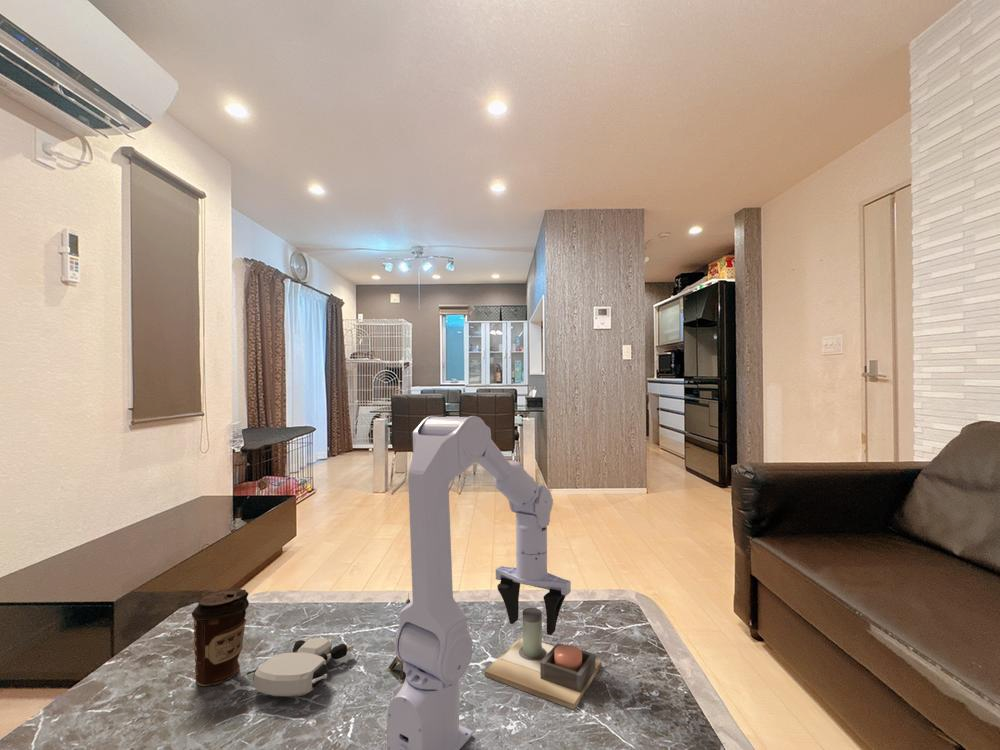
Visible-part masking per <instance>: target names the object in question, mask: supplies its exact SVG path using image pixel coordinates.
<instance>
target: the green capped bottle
mask: <svg viewBox="0 0 1000 750" xmlns="http://www.w3.org/2000/svg"><path fill="white" fill-rule="evenodd" d="M542 615H543V612H542V610H540V609H539V608H536V607H527V608H524V609H523V610H522V637H523V654H524V655H525V656H527V657H530V658H536V657H539V656H541V655H542V643H543V624H542V623H543V616H542Z"/></svg>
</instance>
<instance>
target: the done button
mask: <svg viewBox="0 0 1000 750" xmlns="http://www.w3.org/2000/svg"><path fill="white" fill-rule="evenodd" d="M581 650H582V649H580V648H579V647H577V646H576V645H572V644H562V645H560V646H558V647H556V648H555V651H554V657H555V665H558V666H561V667H564V668H567V669H570V670H573V671H576V672H578V671H579V670H580V669H581V667H582V651H581Z"/></svg>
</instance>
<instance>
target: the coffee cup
mask: <svg viewBox="0 0 1000 750" xmlns="http://www.w3.org/2000/svg"><path fill="white" fill-rule="evenodd" d="M248 596H249V592H248V591H247V590H246V589H241V588H239V587H236V588H234V587H230V588H226V589H221V590H217V591H214V592H211V593H208V594H206V595H204V596H203V597H202V598H200V599H199V601H198V604H197V606H196V607H194V609H193V610H192V613H191V617H192V618H193V629H194V630H193V642H194V647H193V648H194V650H193V651H194V662H195V668H194V669H195V670H194V671H195V672H194V673H195V681H196V684H197V685H198V686H202V687H207V686H214V685H218V684H221V683H223V682H225V681H227V680H230V679H231V678H232V677H234V676H235V675H236V674H237V673H238V672H239V670H240V667H241V666H240V662H239V660H238V659H239V657H240V654H241V652H242V650H243V648H244V647H243V646H244V643H243V642H244V635H245V627H246V623H247V619H246V614H247V612H246V610H247V609H248V608H249V605H250V602H249V600H248Z"/></svg>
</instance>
